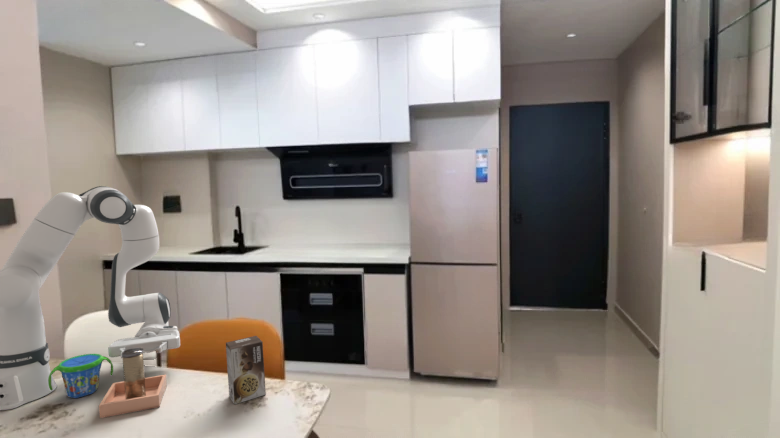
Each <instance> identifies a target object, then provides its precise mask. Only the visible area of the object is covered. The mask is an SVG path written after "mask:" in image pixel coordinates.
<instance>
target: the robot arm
mask: <svg viewBox="0 0 780 438" xmlns="http://www.w3.org/2000/svg"><path fill="white" fill-rule="evenodd" d="M90 219H95V220H98V221H99V222H101V223H105V224H113V225H118V228H119V229H120V235H121V236H120V237H121V248H120V250H119V252H117V253H116V254H114V256H113V258H112V259H113V260H112V262H111V263H112V264H111V274H110V275H111V276H110V291H109V292H110V295H109V296H110V297H109V303H108V305H109V306H108V310H107V317H108V321H109V323H111V324H113V326H116V327H117V328H123V327H127V326H131V325H136V324H141V326H140V328H139V329H138V331H137V332H136V334H135V335H134V337H127V338H125V337H124V338H120V339H117V340H114V342H112V343H111V344H109V345H108V349H107V350H108V351H107V353H108V358H109V357H110V358H117V357H120V358H121V359H123V358H122V352H124V351H126V350H129V349H133V348H142V349H143V354H145V353H147V354H148V353H153V352H155V353H156V354H161V353H162V352H163V351H166V350H173V349H179V348H180V347H181V337H180V335H181V334H180V331H179V330H178V326H177V325H169V320H170V318H171V317H172V316H171V310H172V309H171V303H170V301H169V298H168V297H167V296H166V295H164V294H163V293H162V292H154V293H145V294H141V295H134V296H127V295H126V283H127V282H126V281H127V274H128V272H129V271H130V270H132V269H134V268H136V267H138V266H141V265H143V264H145V263H147V262H148V261H150V260H151V259H153V258H154V257H155V256H156V255H157V254H158V252H159V250H160V244H161V243H160V234H159V229H158V223H157V221H156V218H155V215H154V211H153V210H152V208H151V207H149V206H147V205H145V204H133V202H132V200H131V199H129V197H128V196H127V195H126V194H125V193H123V192H122V191H120V190H119V189H116V188H114V187H110V186H107V185H105V186H103V185H101V186H100V185H99V186H94V187H92V188H90V189H88V190H87V191H84V192H82V193H81V194H76V193H73V192H70V191H69V192H67V191H63V192H61V191H60V192H58V193H57V194H55V195H53V196H52V197H51V198H50V199H49V200H48V201H47V202H46V203H45V205H43V206H42V208H41V209H40V210H39V211H38V213H37V214H36V216H34V219H33V220H32V221H31V223H30V224H29V225H28V227H27V228H26V229H25V231H24V233H23V234H22V235H21V237H20V239H19V240H18V242H17V244H16V245H15V247H14V249H13V250H12V252H11V253H10V255H9V257H8V259H7V260H6V261H5V263H4V265H3V266H2V268H1V269H0V411H5V410H12V409H16V408H18V407H21V406H23V405H24V404H27V403H30V402H32V401H36V400H39V399H41V398H43V397H44V396H48V395H49V394H50V393H52V392H54V391H55V390H56V389H57V387H58V385H57V383H56V381H55V378H54V376H53V374H52V375H51V385H52V389H53V390H50V388H49V383H48V378H49V375H50V373H51V371H52V370H51V367H50V357H51V356H50V354H51V353H50V349H49V343H48V342H47V340H46V339H47V338H46V328H45V318H44V314H43V310H42V309H43V308H42V304H41V303H42V302H41V297H40V290H41V288H42V286H43V285H44V284H45V282H46V280H47V279H48V278H49V275H50V274H51V273H52V271H53V269H55V267H56V265H57V264H58V262H59V261H60V259H61V257H62V256H63V254H64V253H65V251H66V249H67V248H68V246H69V245H70V243H71V242H72V241H73V239H74V237H75V236H76V235H77V233H78V232H79V229H80V228H81V226H82V225H83V224H84V223H85V222H86V221H88V220H90ZM142 323H143V324H142Z"/></svg>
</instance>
